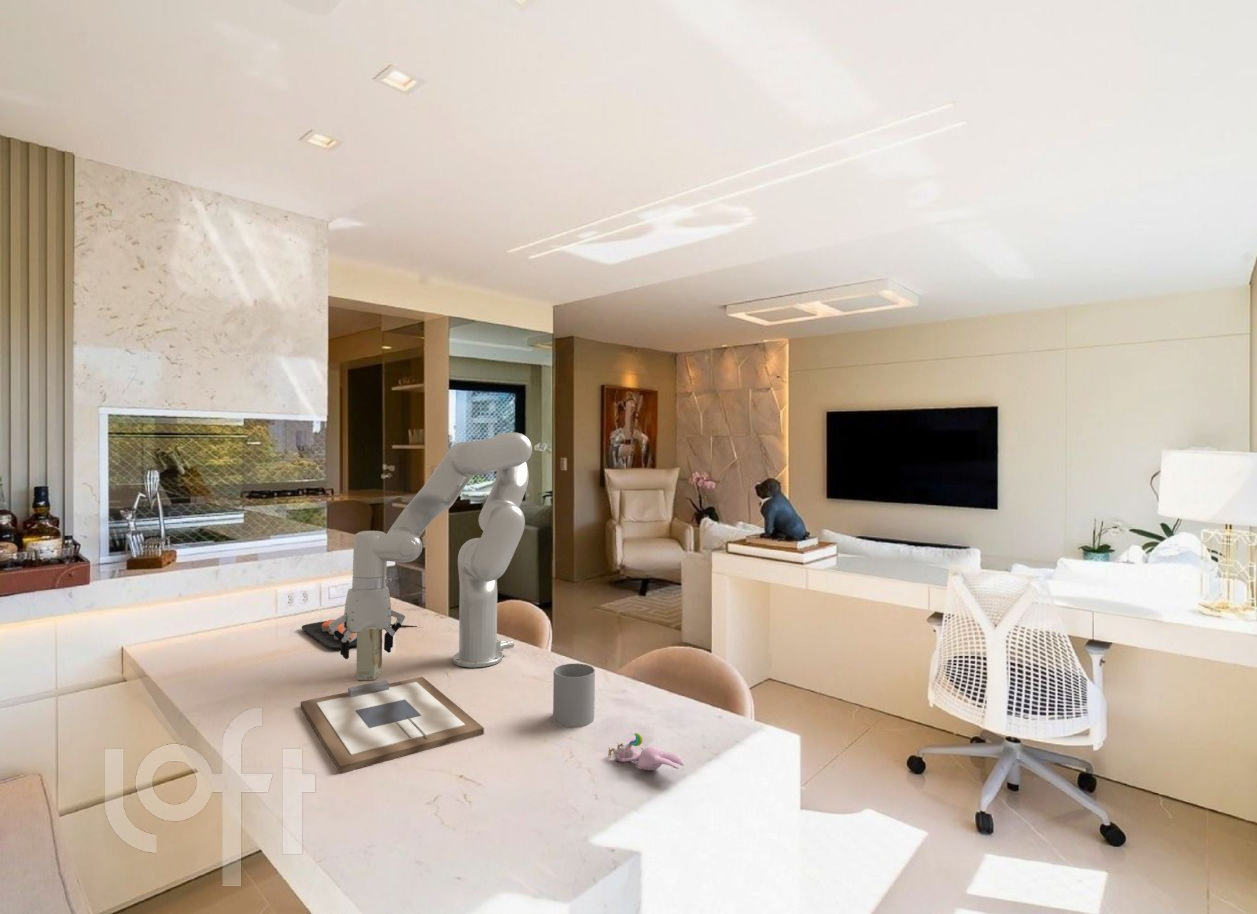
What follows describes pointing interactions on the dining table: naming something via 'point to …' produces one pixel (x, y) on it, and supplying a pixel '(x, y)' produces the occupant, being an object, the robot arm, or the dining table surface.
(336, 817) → the dining table surface
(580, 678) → the cup
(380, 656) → the skincare box
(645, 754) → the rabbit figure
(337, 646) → the sushi plate
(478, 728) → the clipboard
